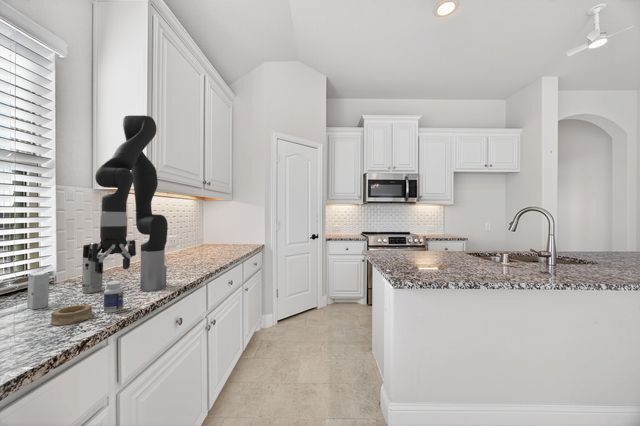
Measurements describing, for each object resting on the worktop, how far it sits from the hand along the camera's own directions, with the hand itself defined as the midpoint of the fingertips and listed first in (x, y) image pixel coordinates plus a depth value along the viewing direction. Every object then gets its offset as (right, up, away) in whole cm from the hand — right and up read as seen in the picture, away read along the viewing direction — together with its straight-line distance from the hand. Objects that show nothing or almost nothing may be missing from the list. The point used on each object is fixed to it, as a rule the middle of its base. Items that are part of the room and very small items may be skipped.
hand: (113, 271), depth 96 cm
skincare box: (-29, -14, +3) cm, 32 cm away
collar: (-7, -14, -8) cm, 17 cm away
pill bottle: (0, -14, 0) cm, 14 cm away
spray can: (-25, -14, +22) cm, 36 cm away
